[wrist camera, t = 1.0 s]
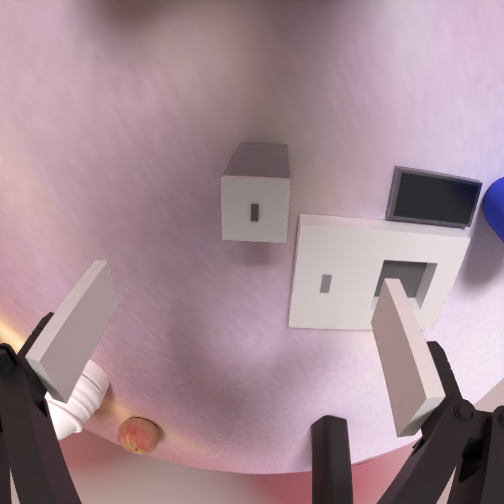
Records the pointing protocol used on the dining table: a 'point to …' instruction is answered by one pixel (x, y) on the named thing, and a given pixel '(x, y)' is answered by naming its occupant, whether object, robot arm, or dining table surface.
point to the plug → (256, 194)
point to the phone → (432, 197)
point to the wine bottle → (331, 462)
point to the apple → (138, 435)
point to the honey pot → (79, 401)
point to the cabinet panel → (370, 269)
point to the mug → (495, 207)
